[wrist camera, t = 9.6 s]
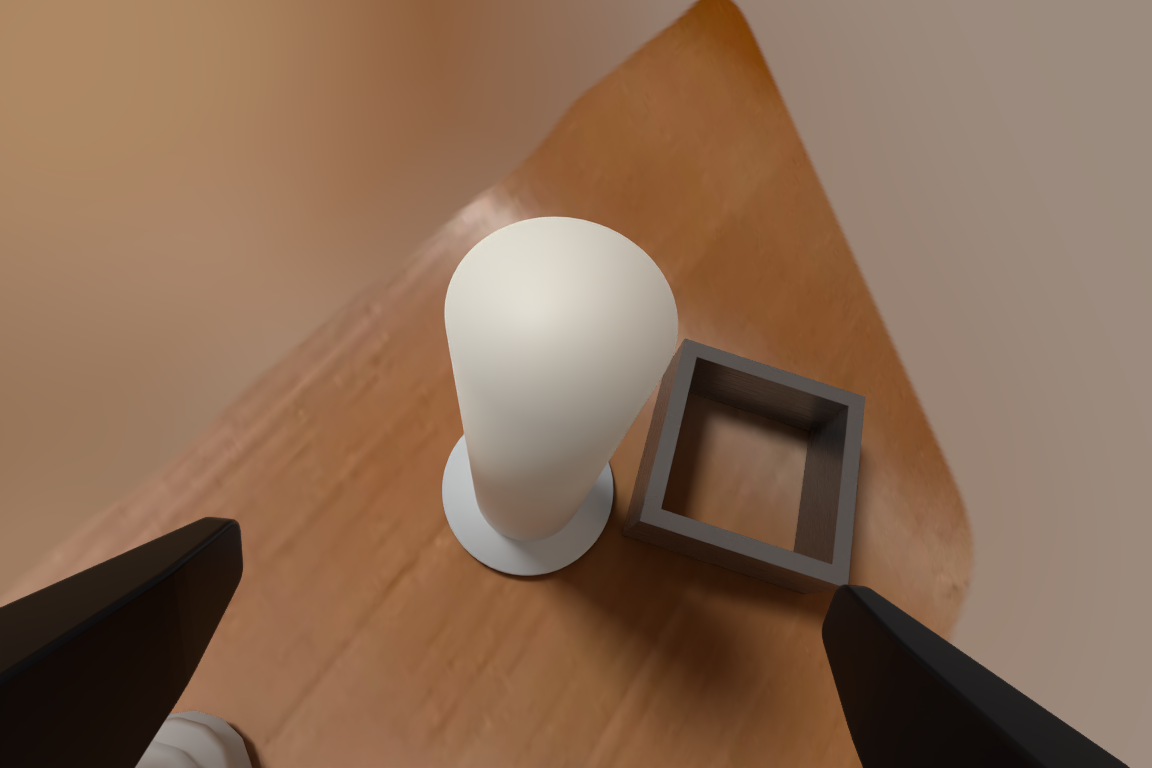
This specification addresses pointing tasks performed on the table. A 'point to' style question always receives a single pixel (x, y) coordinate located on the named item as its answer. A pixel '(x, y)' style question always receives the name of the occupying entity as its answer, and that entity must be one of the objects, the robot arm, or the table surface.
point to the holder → (824, 484)
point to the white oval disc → (515, 553)
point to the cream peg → (552, 363)
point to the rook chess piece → (195, 744)
